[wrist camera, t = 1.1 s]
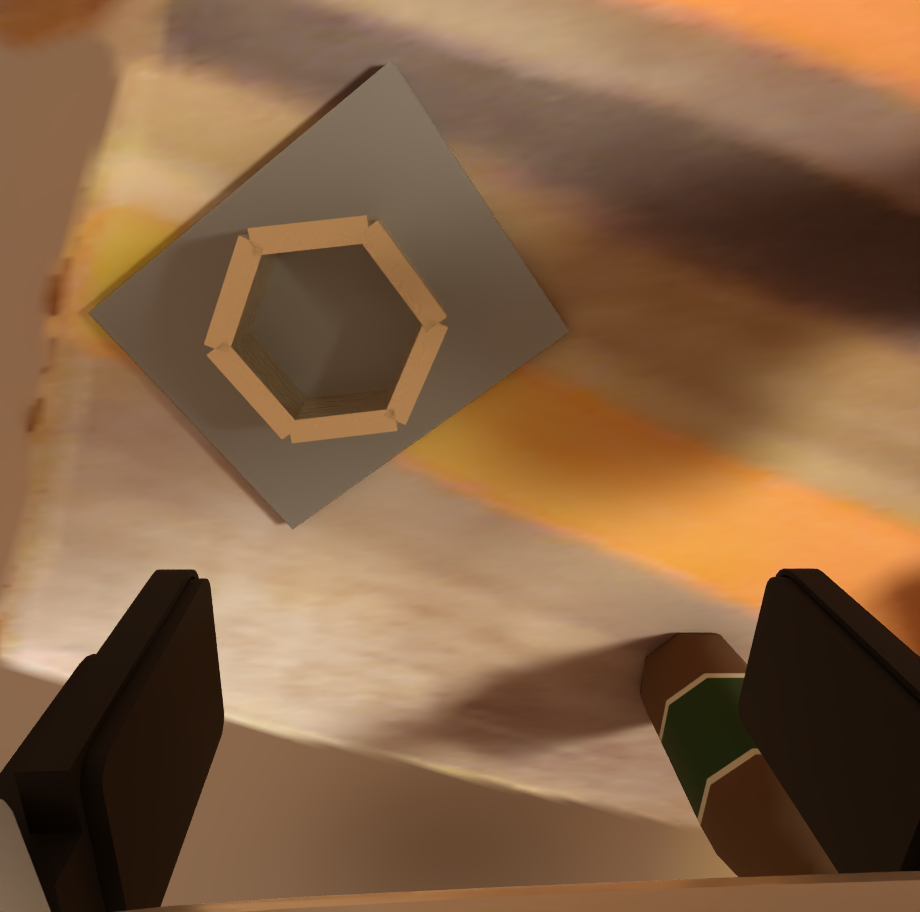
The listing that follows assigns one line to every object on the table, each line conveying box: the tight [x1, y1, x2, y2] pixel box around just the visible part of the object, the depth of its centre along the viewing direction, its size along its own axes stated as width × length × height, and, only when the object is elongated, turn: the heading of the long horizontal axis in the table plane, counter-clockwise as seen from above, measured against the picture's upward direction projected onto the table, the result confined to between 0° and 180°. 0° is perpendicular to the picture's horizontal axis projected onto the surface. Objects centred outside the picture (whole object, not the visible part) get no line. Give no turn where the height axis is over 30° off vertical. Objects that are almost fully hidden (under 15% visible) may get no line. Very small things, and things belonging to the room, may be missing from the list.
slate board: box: [89, 60, 570, 529], centre depth 35 cm, size 20×16×1 cm
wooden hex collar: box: [204, 215, 448, 443], centre depth 33 cm, size 10×12×4 cm
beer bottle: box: [640, 634, 839, 877], centre depth 35 cm, size 8×8×24 cm
